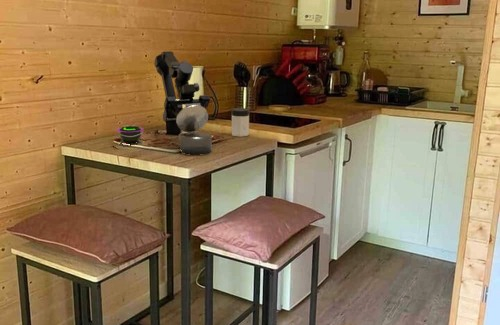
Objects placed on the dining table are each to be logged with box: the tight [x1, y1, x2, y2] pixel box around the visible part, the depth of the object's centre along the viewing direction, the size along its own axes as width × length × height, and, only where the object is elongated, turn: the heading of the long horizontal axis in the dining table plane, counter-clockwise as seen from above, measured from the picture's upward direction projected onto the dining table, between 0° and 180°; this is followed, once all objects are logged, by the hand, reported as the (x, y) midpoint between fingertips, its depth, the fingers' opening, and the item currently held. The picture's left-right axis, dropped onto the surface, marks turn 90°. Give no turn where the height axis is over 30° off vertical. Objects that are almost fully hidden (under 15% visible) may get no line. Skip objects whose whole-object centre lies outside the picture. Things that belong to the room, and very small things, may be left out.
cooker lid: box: [176, 103, 209, 133], centre depth 205 cm, size 13×13×3 cm
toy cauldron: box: [115, 119, 144, 147], centre depth 211 cm, size 15×15×11 cm
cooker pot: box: [178, 131, 213, 156], centre depth 204 cm, size 14×13×6 cm
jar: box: [231, 107, 250, 138], centre depth 234 cm, size 9×8×12 cm
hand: (191, 118), depth 206 cm, fingers open, 9 cm apart
